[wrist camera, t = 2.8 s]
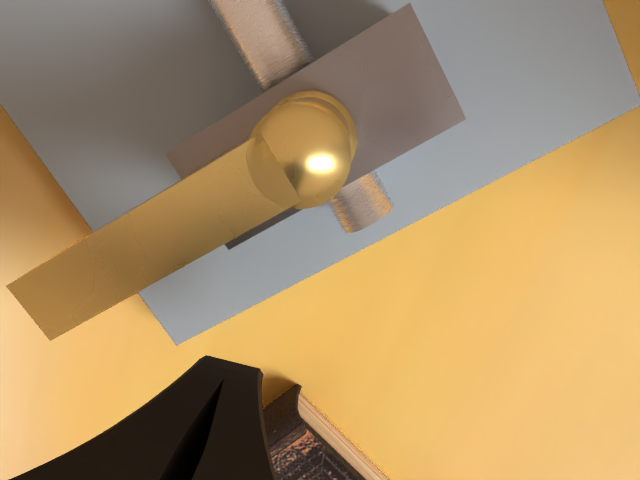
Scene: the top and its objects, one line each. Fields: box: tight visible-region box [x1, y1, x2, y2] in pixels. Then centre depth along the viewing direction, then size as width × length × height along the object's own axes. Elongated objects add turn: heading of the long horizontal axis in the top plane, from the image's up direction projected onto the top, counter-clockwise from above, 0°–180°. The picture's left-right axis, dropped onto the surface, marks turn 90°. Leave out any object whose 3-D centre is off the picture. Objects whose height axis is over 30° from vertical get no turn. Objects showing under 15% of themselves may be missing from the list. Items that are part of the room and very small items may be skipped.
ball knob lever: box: [6, 90, 357, 341], centre depth 9 cm, size 2×6×2 cm, turn 120°
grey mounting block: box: [165, 3, 466, 250], centre depth 12 cm, size 2×6×3 cm, turn 120°
